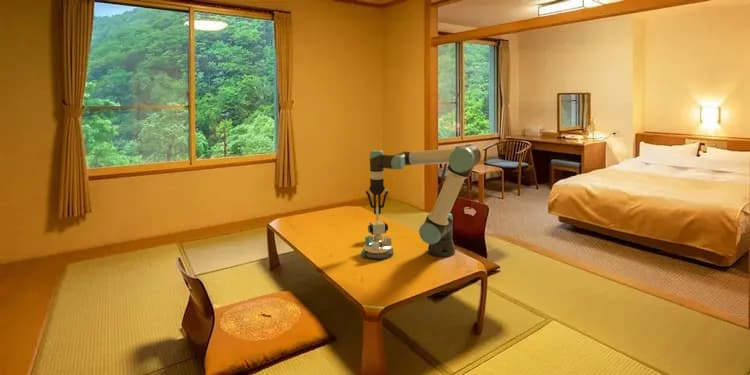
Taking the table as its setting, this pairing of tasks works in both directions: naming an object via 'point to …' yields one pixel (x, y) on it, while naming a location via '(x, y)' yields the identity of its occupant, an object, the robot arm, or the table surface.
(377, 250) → the lathe chuck
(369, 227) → the pneumatic valve
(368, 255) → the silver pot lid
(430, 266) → the table surface
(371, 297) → the table surface
